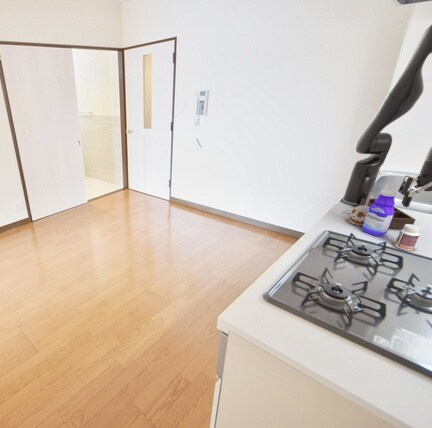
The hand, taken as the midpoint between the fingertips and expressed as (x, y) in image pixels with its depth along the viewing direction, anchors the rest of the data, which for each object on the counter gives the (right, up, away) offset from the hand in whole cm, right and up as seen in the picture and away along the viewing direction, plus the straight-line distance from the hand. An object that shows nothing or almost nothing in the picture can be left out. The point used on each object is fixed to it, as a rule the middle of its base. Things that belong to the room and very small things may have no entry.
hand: (421, 207), depth 94 cm
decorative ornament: (0, -6, +24) cm, 25 cm away
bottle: (-1, -10, +17) cm, 19 cm away
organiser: (+13, -4, +27) cm, 30 cm away
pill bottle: (+1, -14, +7) cm, 16 cm away
